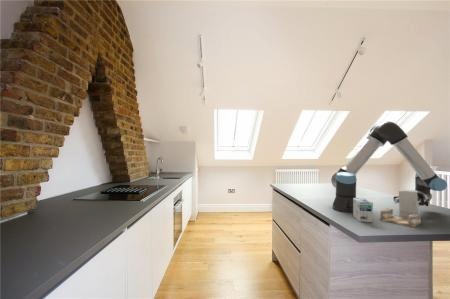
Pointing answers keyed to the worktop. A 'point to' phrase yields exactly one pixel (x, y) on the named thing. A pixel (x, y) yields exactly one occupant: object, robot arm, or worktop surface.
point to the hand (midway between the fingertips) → (405, 202)
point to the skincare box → (407, 203)
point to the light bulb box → (363, 210)
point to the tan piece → (400, 218)
